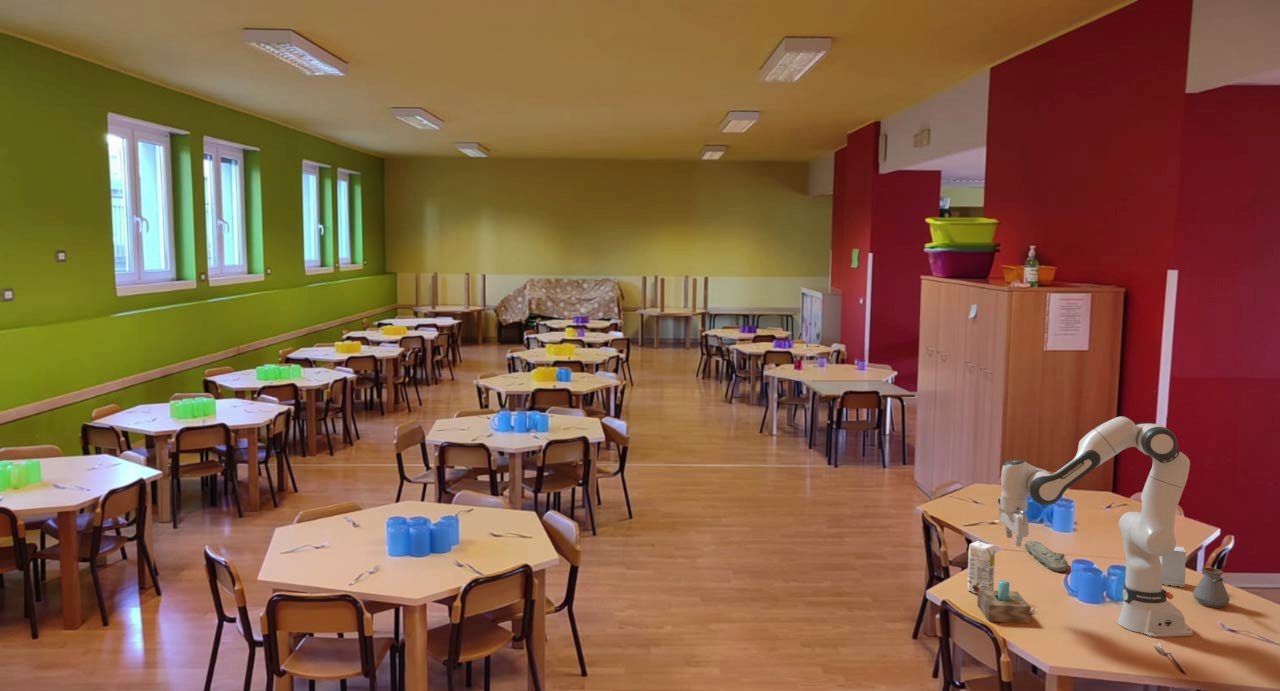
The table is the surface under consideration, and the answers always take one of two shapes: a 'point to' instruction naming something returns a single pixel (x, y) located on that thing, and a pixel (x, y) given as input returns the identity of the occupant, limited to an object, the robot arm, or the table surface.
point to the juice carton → (981, 567)
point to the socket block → (1003, 607)
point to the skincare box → (1174, 567)
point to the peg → (1003, 591)
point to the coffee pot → (1211, 589)
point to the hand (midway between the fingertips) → (1013, 541)
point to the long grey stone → (1047, 556)
